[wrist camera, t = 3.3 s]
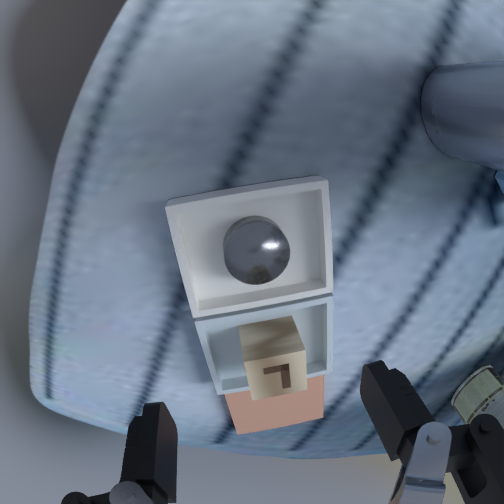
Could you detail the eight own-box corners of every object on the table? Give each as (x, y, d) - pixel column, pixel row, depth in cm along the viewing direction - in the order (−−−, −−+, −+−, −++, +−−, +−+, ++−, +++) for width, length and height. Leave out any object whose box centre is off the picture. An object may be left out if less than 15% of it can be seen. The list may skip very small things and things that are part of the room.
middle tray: (325, 283, 29) (333, 295, 27) (326, 358, 33) (332, 372, 31) (195, 307, 28) (194, 321, 26) (216, 380, 32) (217, 395, 30)
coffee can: (500, 359, 41) (543, 407, 28) (476, 398, 45) (511, 446, 32) (466, 370, 39) (512, 428, 26) (441, 412, 43) (476, 468, 30)
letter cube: (291, 315, 29) (305, 350, 24) (295, 354, 31) (307, 389, 26) (237, 325, 29) (242, 362, 24) (245, 364, 31) (251, 401, 26)
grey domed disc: (281, 210, 25) (286, 218, 23) (287, 267, 27) (292, 278, 25) (217, 221, 25) (218, 229, 23) (228, 278, 27) (230, 289, 25)
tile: (321, 363, 33) (324, 369, 32) (321, 411, 36) (323, 417, 36) (222, 383, 32) (222, 389, 31) (236, 428, 36) (237, 434, 35)
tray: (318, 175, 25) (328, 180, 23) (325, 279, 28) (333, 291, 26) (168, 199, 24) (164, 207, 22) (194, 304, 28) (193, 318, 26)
